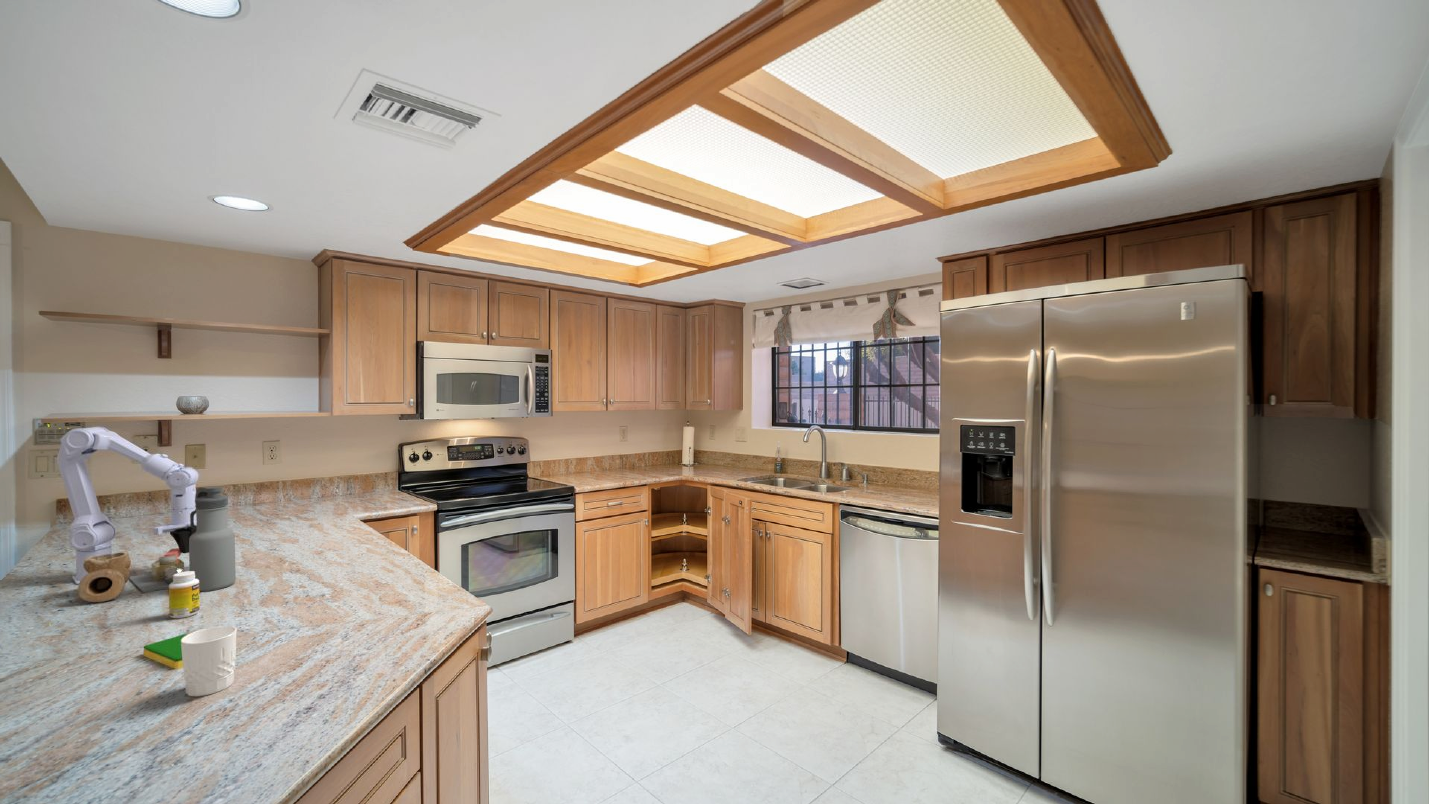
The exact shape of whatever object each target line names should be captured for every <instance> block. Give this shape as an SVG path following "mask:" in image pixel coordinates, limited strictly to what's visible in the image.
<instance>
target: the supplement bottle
mask: <svg viewBox="0 0 1429 804" xmlns="http://www.w3.org/2000/svg"><path fill="white" fill-rule="evenodd" d="M168 607H169V608H168V609H169V611H168V613H169V617H170V618H171V619H181V618H189V617H192V616H194V615H197V614H198V613H199V612H200V608H201V606H200V592H199V580H198V579H195V572H194V571H186V572H180V573H177V574H174V575H173V582H172V583H171V584H170V585H169V588H168Z"/></svg>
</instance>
